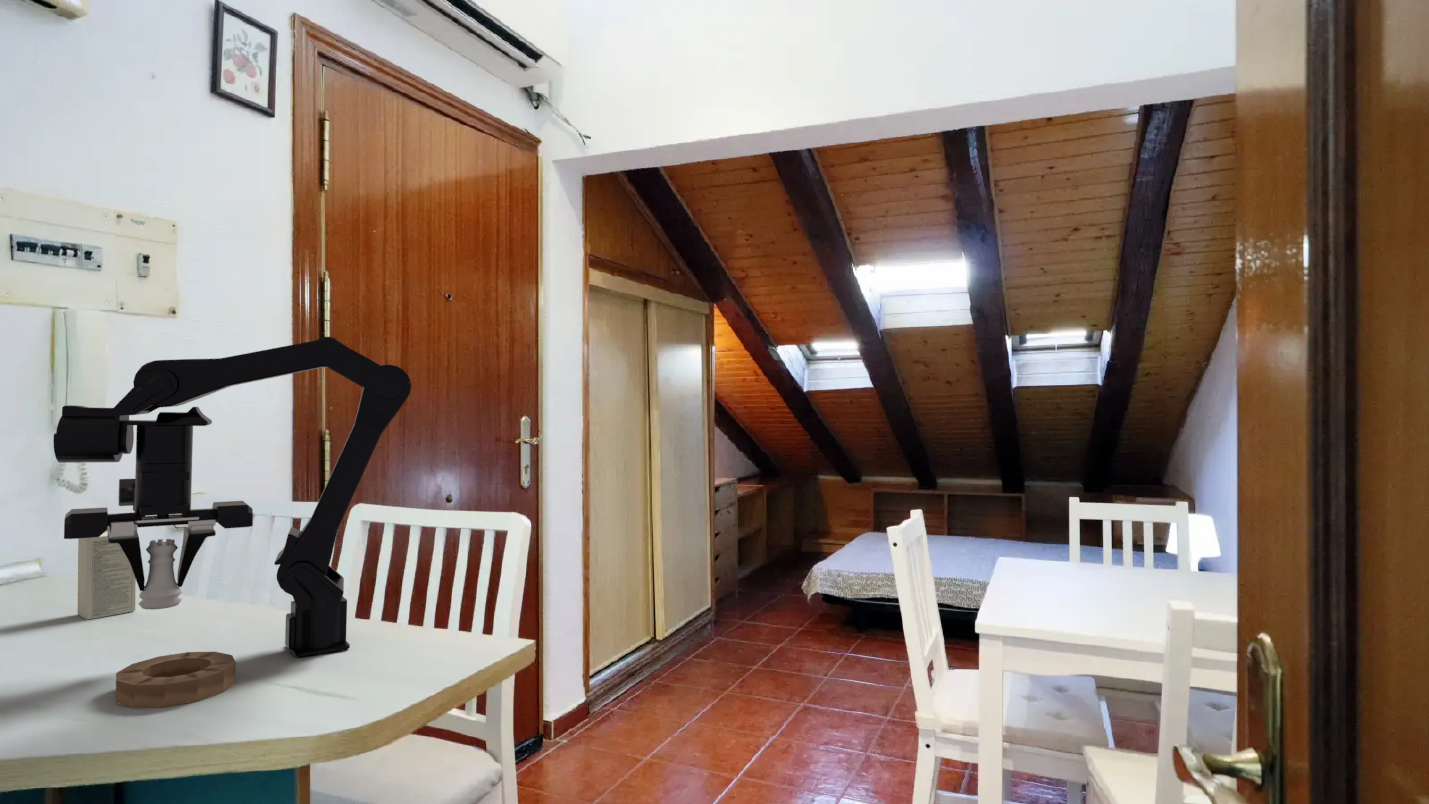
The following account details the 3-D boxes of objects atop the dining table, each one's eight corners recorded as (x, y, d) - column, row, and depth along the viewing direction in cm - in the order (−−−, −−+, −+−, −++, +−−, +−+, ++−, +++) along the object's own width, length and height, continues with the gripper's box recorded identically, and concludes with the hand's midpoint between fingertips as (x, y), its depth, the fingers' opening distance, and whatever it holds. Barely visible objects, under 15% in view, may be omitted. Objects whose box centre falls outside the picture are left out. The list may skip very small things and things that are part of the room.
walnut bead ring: (227, 665, 97) (227, 646, 97) (240, 693, 88) (240, 671, 88) (114, 683, 90) (115, 662, 90) (117, 715, 81) (117, 692, 81)
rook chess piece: (159, 611, 94) (161, 545, 94) (128, 608, 95) (130, 542, 95) (191, 602, 99) (192, 538, 99) (161, 599, 100) (163, 536, 100)
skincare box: (125, 606, 121) (127, 528, 121) (136, 612, 119) (138, 531, 119) (75, 615, 116) (77, 533, 116) (84, 620, 114) (87, 536, 113)
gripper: (242, 455, 109) (239, 568, 109) (68, 459, 97) (64, 584, 97) (255, 462, 100) (251, 584, 100) (65, 466, 89) (62, 604, 89)
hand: (160, 588), depth 97 cm, fingers closed on rook chess piece, 3 cm apart
